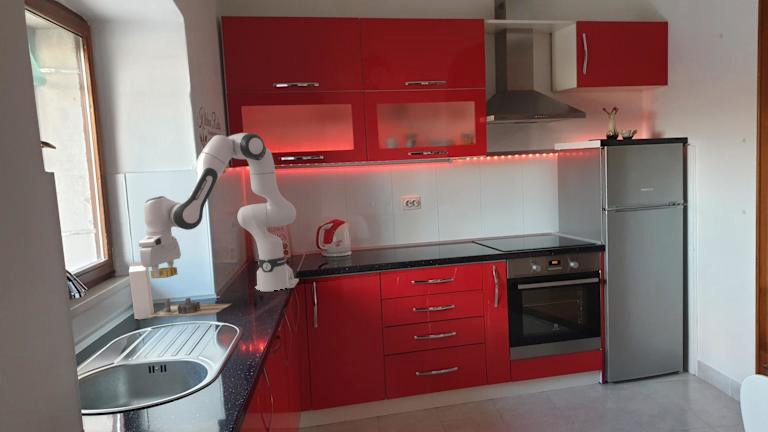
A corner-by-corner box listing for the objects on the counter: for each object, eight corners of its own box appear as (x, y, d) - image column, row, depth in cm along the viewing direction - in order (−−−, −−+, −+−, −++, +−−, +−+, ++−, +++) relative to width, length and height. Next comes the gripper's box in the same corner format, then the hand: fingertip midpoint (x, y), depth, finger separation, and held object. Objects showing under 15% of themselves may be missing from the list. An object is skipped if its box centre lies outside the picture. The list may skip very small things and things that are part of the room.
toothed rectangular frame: (160, 275, 202) (159, 267, 202) (178, 274, 201) (177, 266, 201) (150, 278, 197) (149, 270, 196) (169, 277, 195) (168, 269, 195)
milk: (151, 317, 199) (144, 262, 197) (134, 320, 198) (127, 264, 196) (154, 313, 205) (147, 259, 203) (137, 316, 204) (131, 261, 202)
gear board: (172, 308, 211) (170, 293, 210) (232, 307, 205) (230, 291, 205) (148, 320, 196) (146, 303, 196) (213, 318, 191) (211, 301, 190)
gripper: (168, 236, 208) (172, 269, 209) (135, 243, 188) (139, 280, 189) (182, 235, 207) (186, 268, 208) (150, 242, 187) (155, 279, 188)
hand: (164, 274), depth 199 cm, fingers closed on toothed rectangular frame, 6 cm apart
